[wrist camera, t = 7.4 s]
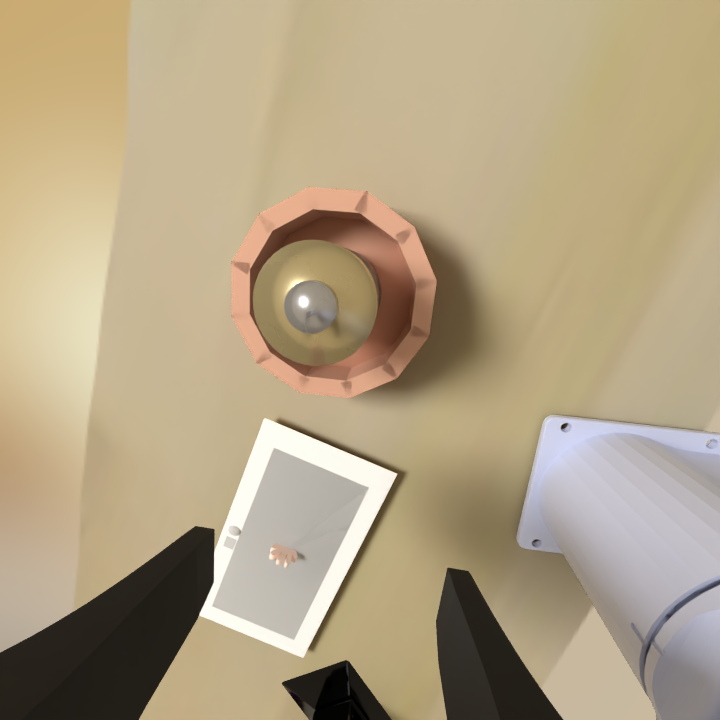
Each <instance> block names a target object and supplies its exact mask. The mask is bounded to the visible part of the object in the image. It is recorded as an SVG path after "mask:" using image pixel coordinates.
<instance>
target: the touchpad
mask: <svg viewBox="0 0 720 720" xmlns="http://www.w3.org/2000/svg"><path fill="white" fill-rule="evenodd" d="M396 476H397V473H394V472H392V471H390V470H387V469H385V468H383V467H380V466H378V465H375V464H373V463H371V462H368V461H366V460H364V459H361V458H359V457H357V456H354V455H352V454H349V453H347V452H345V451H342V450H340V449H338V448H335V447H333V446H331V445H328V444H326V443H323V442H321V441H319V440H316V439H314V438H312V437H309V436H307V435H305V434H302V433H300V432H297V431H295V430H293V429H290V428H288V427H286V426H283V425H281V424H278V423H276V422H274V421H271V420H269V419H267V418H264V420H263V423H262V426H261V428H260V431H259V434H258V437H257V439H256V442H255V445H254V447H253V450H252V453H251V455H250V458H249V461H248V463H247V466H246V469H245V471H244V474H243V477H242V479H241V482H240V485H239V487H238V490H237V493H236V496H235V498H234V501H233V504H232V506H231V509H230V512H229V514H228V517H227V520H226V522H225V525H224V528H223V530H222V533H221V536H220V538H219V541H218V544H217V546H216V549H215V552H214V583H213V586H212V588H211V590H210V592H209V595H208V597H207V599H206V601H205V603H204V606H203V608H202V610H201V612H200V614H199V615H200V616H202V617H205V618H207V619H209V620H212V621H214V622H217V623H219V624H222V625H224V626H227V627H229V628H231V629H234V630H236V631H239V632H241V633H244V634H246V635H248V636H251V637H253V638H256V639H258V640H261V641H263V642H266V643H268V644H270V645H273V646H275V647H278V648H280V649H283V650H285V651H287V652H290V653H292V654H295V655H297V656H300V657H302V658H303V657H304V655H305V653H306V651H307V649H308V647H309V645H310V644H311V642H312V640H313V638H314V636H315V634H316V632H317V630H318V628H319V626H320V624H321V622H322V620H323V618H324V616H325V614H326V612H327V610H328V608H329V606H330V605H331V603H332V601H333V599H334V597H335V595H336V593H337V591H338V589H339V587H340V585H341V583H342V581H343V579H344V577H345V575H346V573H347V571H348V569H349V568H350V566H351V564H352V562H353V560H354V558H355V556H356V554H357V552H358V550H359V548H360V546H361V544H362V542H363V540H364V538H365V536H366V534H367V532H368V531H369V529H370V527H371V525H372V523H373V521H374V519H375V517H376V515H377V513H378V511H379V509H380V507H381V505H382V503H383V501H384V499H385V497H386V495H387V493H388V492H389V490H390V488H391V486H392V484H393V482H394V480H395V478H396Z"/></svg>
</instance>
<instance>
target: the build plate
mask: <svg viewBox="0 0 720 720" xmlns="http://www.w3.org/2000/svg"><path fill="white" fill-rule="evenodd" d="M282 685H283V686H284V687H285V689H286V690H287V691H288V693H289V694H290V695H291V696H292V698H293V699H294V700H295V702H296V703H297V704H298V706H299V707H300V708H301V710H302V711H303V712H304V714H305V715H306V716H307V717H308V719H309V720H391V718H390V717H389V716H388V714H387V713H386V711H385V710H384V709H383V707H382V706H381V705H380V703H379V702H378V701H377V699H376V698H375V696H374V695H373V694H372V692H371V691H370V690H369V688H368V687H367V686H366V684H365V683H364V681H363V680H362V679H361V677H360V676H359V675H358V673H357V672H356V671H355V669H354V668H353V666H352V665H351V664H350V662H349V661H347V660H345V661H342V662H339V663H337V664H334V665H331V666H328V667H325V668H322V669H319V670H316V671H313V672H311V673H308V674H305V675H302V676H299V677H296V678H293V679H290V680H287V681H285V682H283V683H282Z"/></svg>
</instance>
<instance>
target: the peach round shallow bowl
mask: <svg viewBox="0 0 720 720" xmlns="http://www.w3.org/2000/svg"><path fill="white" fill-rule="evenodd" d="M302 240H322V241H327V242H331V243H333V244H336V245H339V246H341V247H344V248H347V249H349V250H352V251H355V252H357V253H359V254H361V255H362V256H364V257H365V258H366V259H367V260H368V261H369V262H370V263H371V264H372V265H373V266H374V268H375V270H376V271H377V273H378V276H379V279H380V282H381V291H382V294H381V301H380V305H379V309H378V312H377V315H376V319H375V322H374V325H373V328H372V331H371V333H370V335H369V337H368V338H367V340H366V341H365V343H364V344H363V345H362V346H361V347H360V348H359V349H358V350H357V351H356V352H355V353H354V354H353V355H351V356H350V357H348V358H346V359H344V360H342V361H340V362H338V363H334V364H331V365H325V366H310V365H304V364H300V363H297V362H294V361H292V360H290V359H288V358H286V357H284V356H283V355H281V354H280V353H279V352H277V351H276V350H275V349H274V348H273V347H272V346H271V345H270V344H269V343H268V342H267V340H266V339H265V337H264V336H263V334H262V333H261V331H260V329H259V327H258V324H257V322H256V318H255V315H254V309H253V292H254V286H255V282H256V279H257V277H258V274H259V272H260V270H261V269H262V267H263V265H264V264H265V263H266V261H267V260H268V259H269V258H270V257H271V256H272V255H273V254H274V253H275V252H277V251H278V250H280V249H281V248H283V247H285V246H287V245H289V244H291V243H294V242H298V241H302ZM231 262H232V263H231V264H232V318H233V320H234V322H235V324H236V326H237V327H238V329H239V331H240V333H241V335H242V337H243V339H244V340H245V342H246V344H247V346H248V348H249V350H250V352H251V353H252V355H253V357H254V359H255V361H256V363H257V364H258V365H260V366H261V367H263V368H264V369H266V370H267V371H269V372H270V373H272V374H273V375H275V376H276V377H277V378H279V379H280V380H282V381H283V382H285V383H286V384H288V385H289V386H291V387H292V388H294V389H295V390H297V391H298V392H299V393H309V394H318V395H327V396H336V397H345V398H351V397H353V396H356V395H358V394H361V393H363V392H365V391H368V390H370V389H373V388H375V387H377V386H380V385H382V384H385V383H387V382H389V381H392V380H394V379H397V378H398V376H399V375H400V374H401V372H402V371H403V370H404V368H405V367H406V366H407V365H408V363H409V362H410V361H411V359H412V358H413V357H414V355H415V354H416V353H417V352H418V350H419V349H420V348H421V346H422V345H423V344H424V343H425V341H426V340H427V339H428V338H429V336H430V335H429V334H430V327H431V319H432V312H433V305H434V298H435V290H436V283H437V280H436V278H435V276H434V273H433V271H432V268H431V266H430V263H429V261H428V259H427V256H426V254H425V251H424V249H423V246H422V244H421V242H420V239H419V237H418V234H417V232H416V229H415V227H414V226H413V225H411V224H410V223H409V222H407V221H406V220H405V219H403V218H402V217H400V216H399V215H398V214H396V213H395V212H394V211H392V210H391V209H390V208H388V207H387V206H386V205H384V204H383V203H382V202H380V201H379V200H378V199H376V198H375V197H374V196H372V195H371V194H370V193H368V191H354V190H341V189H328V188H315V187H307V188H306V189H304V190H302V191H300V192H299V193H297V194H295V195H293V196H291V197H289V198H288V199H286V200H284V201H282V202H280V203H278V204H277V205H275V206H273V207H271V208H269V209H267V210H266V211H264V212H262V213H259V214H258V217H257V218H256V220H255V222H254V224H253V225H252V227H251V229H250V231H249V232H248V234H247V236H246V238H245V240H244V241H243V243H242V245H241V247H240V248H239V250H238V252H237V254H236V255H235V257H234V259H233V261H231Z"/></svg>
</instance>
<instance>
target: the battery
mask: <svg viewBox="0 0 720 720" xmlns="http://www.w3.org/2000/svg"><path fill="white" fill-rule="evenodd" d="M381 294H382V291H381V282H380V279H379V276H378V273H377V271H376V270H375V268H374V266H373V265H372V264H371V263H370V262H369V261H368V260H367V259H366V258H365V257H364V256H362V255H361V254H359V253H357V252H355V251H352V250H349V249H347V248H344V247H341V246H339V245H336V244H333V243H331V242H327V241H322V240H302V241H298V242H294V243H291V244H289V245H287V246H285V247H283V248H281V249H280V250H278V251H277V252H275V253H274V254H273V255H272V256H271V257H270V258H269V259H268V260H267V261H266V263H265V264H264V265H263V267H262V269H261V270H260V272H259V274H258V277H257V279H256V282H255V286H254V292H253V309H254V315H255V318H256V322H257V324H258V327H259V329H260V331H261V333H262V334H263V336H264V337H265V339H266V340H267V342H268V343H269V344H270V345H271V346H272V347H273V348H274V349H275V350H276V351H277V352H279V353H280V354H281V355H283V356H284V357H286V358H288V359H290V360H292V361H294V362H297V363H300V364H304V365H310V366H325V365H331V364H334V363H338V362H340V361H342V360H344V359H346V358H348V357H350V356H351V355H353V354H354V353H355V352H356V351H357V350H358V349H359V348H360V347H361V346H362V345H363V344H364V343H365V341H366V340H367V338H368V337H369V335H370V333H371V331H372V328H373V325H374V322H375V319H376V315H377V312H378V309H379V305H380V301H381Z"/></svg>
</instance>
